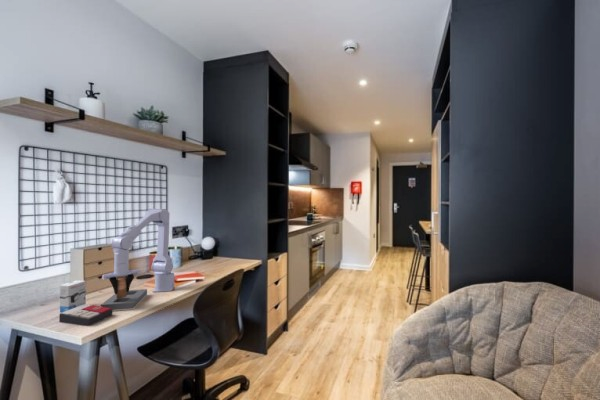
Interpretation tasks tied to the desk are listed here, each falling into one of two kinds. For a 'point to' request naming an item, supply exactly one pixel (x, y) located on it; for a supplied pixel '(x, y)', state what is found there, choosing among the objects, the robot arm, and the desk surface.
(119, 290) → the peg
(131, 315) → the desk surface
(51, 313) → the desk surface
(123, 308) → the board
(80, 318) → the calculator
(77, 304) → the ink box
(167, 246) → the robot arm
